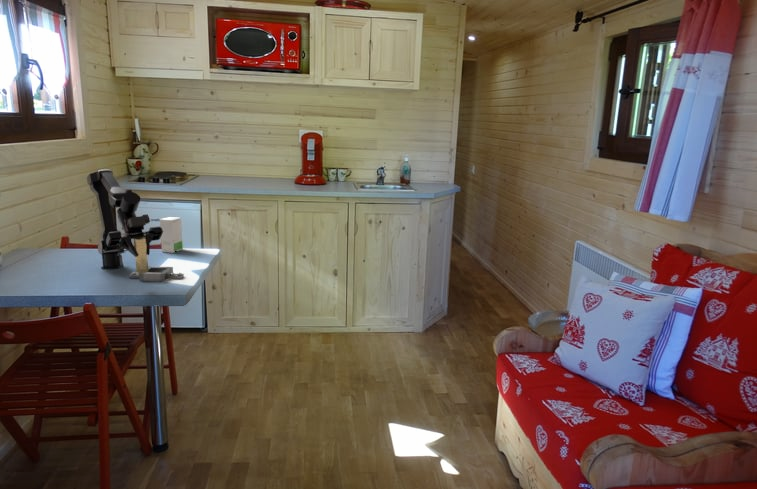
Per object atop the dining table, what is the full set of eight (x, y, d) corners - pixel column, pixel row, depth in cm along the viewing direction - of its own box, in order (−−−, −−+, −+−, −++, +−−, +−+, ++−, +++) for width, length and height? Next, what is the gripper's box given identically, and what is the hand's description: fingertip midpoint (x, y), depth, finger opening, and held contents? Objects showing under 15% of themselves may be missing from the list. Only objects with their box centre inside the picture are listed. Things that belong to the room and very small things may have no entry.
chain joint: (126, 280, 197) (125, 273, 197) (136, 273, 207) (135, 266, 206) (178, 281, 198) (178, 274, 198) (186, 274, 208) (185, 267, 207)
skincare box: (173, 253, 237) (171, 220, 233) (160, 252, 238) (158, 219, 235) (183, 249, 245) (181, 217, 241) (171, 247, 246) (169, 216, 243)
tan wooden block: (134, 273, 186) (131, 239, 183) (139, 270, 190) (136, 237, 187) (145, 273, 187) (143, 240, 184) (150, 270, 190) (147, 237, 187)
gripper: (105, 210, 179) (119, 247, 174) (159, 205, 192) (173, 239, 187) (100, 228, 186) (113, 264, 181) (152, 222, 199) (166, 255, 194)
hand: (142, 255), depth 186 cm, fingers closed on tan wooden block, 4 cm apart
